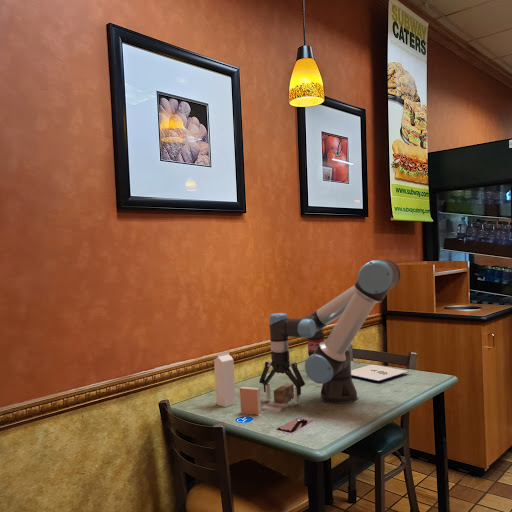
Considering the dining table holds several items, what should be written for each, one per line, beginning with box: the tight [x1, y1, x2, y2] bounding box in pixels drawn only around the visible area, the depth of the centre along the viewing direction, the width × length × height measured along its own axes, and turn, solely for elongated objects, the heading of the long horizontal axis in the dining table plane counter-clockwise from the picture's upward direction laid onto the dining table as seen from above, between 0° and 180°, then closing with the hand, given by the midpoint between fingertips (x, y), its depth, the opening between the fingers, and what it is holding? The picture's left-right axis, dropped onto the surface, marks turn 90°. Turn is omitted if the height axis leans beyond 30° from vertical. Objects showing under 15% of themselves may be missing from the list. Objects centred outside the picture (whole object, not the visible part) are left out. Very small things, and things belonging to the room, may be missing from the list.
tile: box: [239, 386, 262, 416], centre depth 184 cm, size 8×2×10 cm, turn 61°
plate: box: [351, 364, 409, 382], centre depth 230 cm, size 22×22×2 cm
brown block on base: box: [261, 382, 295, 413], centre depth 194 cm, size 19×8×6 cm, turn 151°
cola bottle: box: [306, 329, 325, 357], centre depth 234 cm, size 8×8×30 cm
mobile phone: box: [275, 417, 315, 435], centre depth 168 cm, size 8×1×15 cm
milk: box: [213, 350, 237, 408], centre depth 198 cm, size 6×6×22 cm
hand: (282, 401), depth 196 cm, fingers open, 13 cm apart
